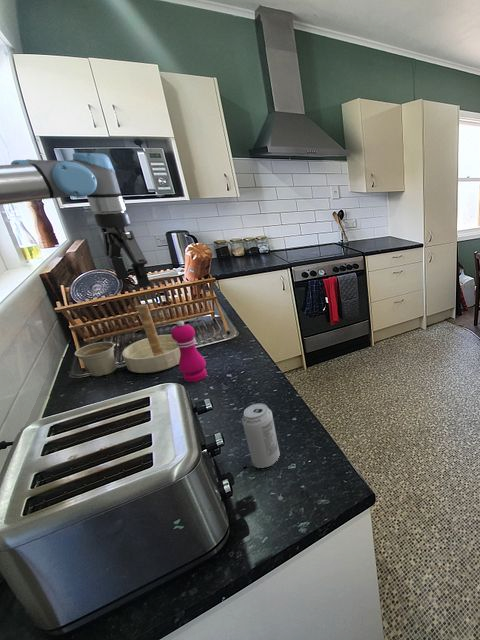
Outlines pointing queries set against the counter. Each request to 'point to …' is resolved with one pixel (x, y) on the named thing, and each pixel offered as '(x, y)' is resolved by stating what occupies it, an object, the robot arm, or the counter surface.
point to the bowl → (151, 355)
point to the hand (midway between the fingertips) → (133, 282)
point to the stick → (150, 329)
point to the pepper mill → (189, 353)
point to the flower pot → (98, 358)
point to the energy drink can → (260, 435)
